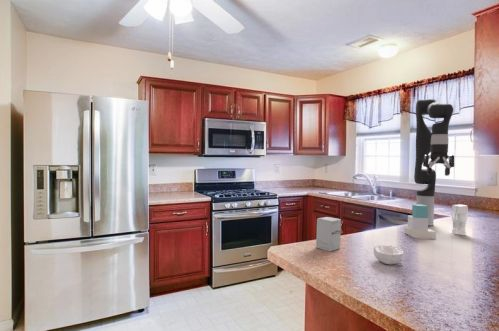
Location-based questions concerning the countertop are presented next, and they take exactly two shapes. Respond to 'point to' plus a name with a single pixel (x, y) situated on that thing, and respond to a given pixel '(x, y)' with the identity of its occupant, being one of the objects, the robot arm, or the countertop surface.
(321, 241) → the supplement box
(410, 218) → the grey cube
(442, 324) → the countertop surface
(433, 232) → the cream slab
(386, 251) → the white bowl
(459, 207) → the beer glass
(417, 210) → the teal block
